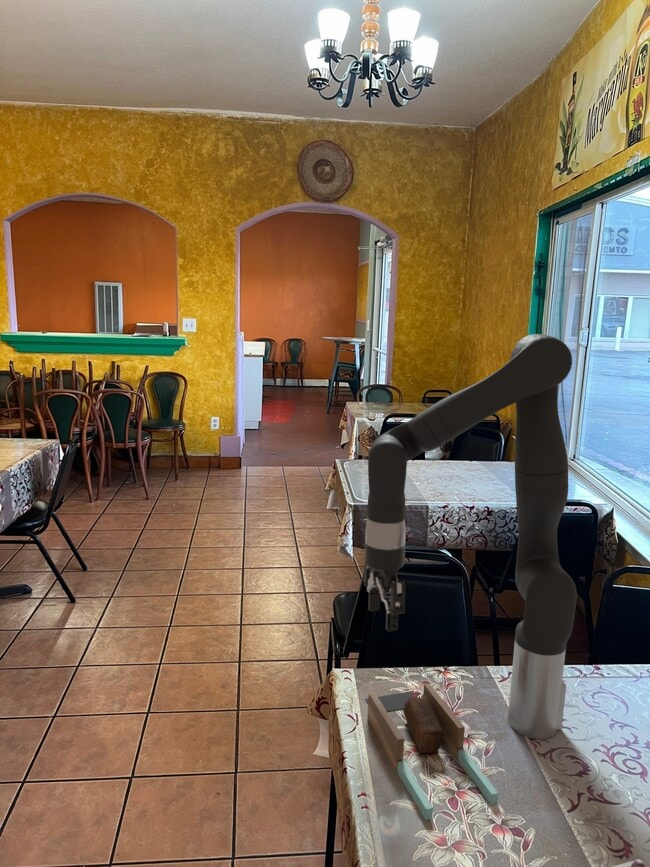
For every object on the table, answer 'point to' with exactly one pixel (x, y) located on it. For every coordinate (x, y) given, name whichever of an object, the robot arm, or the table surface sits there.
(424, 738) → the brick
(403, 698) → the pad
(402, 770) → the bay
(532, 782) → the table surface
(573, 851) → the table surface
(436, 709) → the trench
